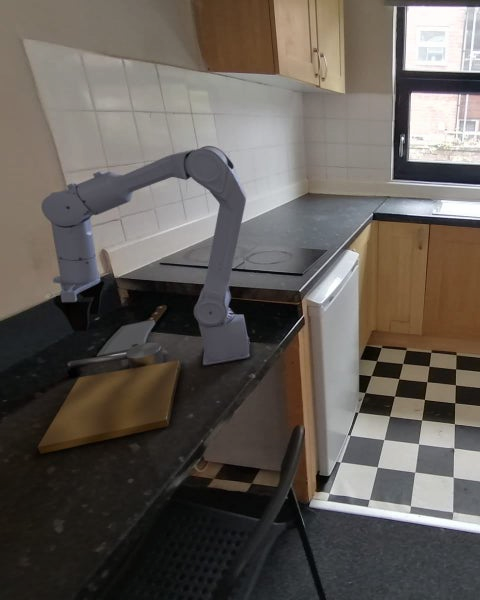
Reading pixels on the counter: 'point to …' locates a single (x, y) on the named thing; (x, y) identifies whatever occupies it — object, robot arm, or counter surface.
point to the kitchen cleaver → (131, 335)
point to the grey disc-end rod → (135, 356)
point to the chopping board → (114, 406)
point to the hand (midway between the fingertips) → (86, 321)
